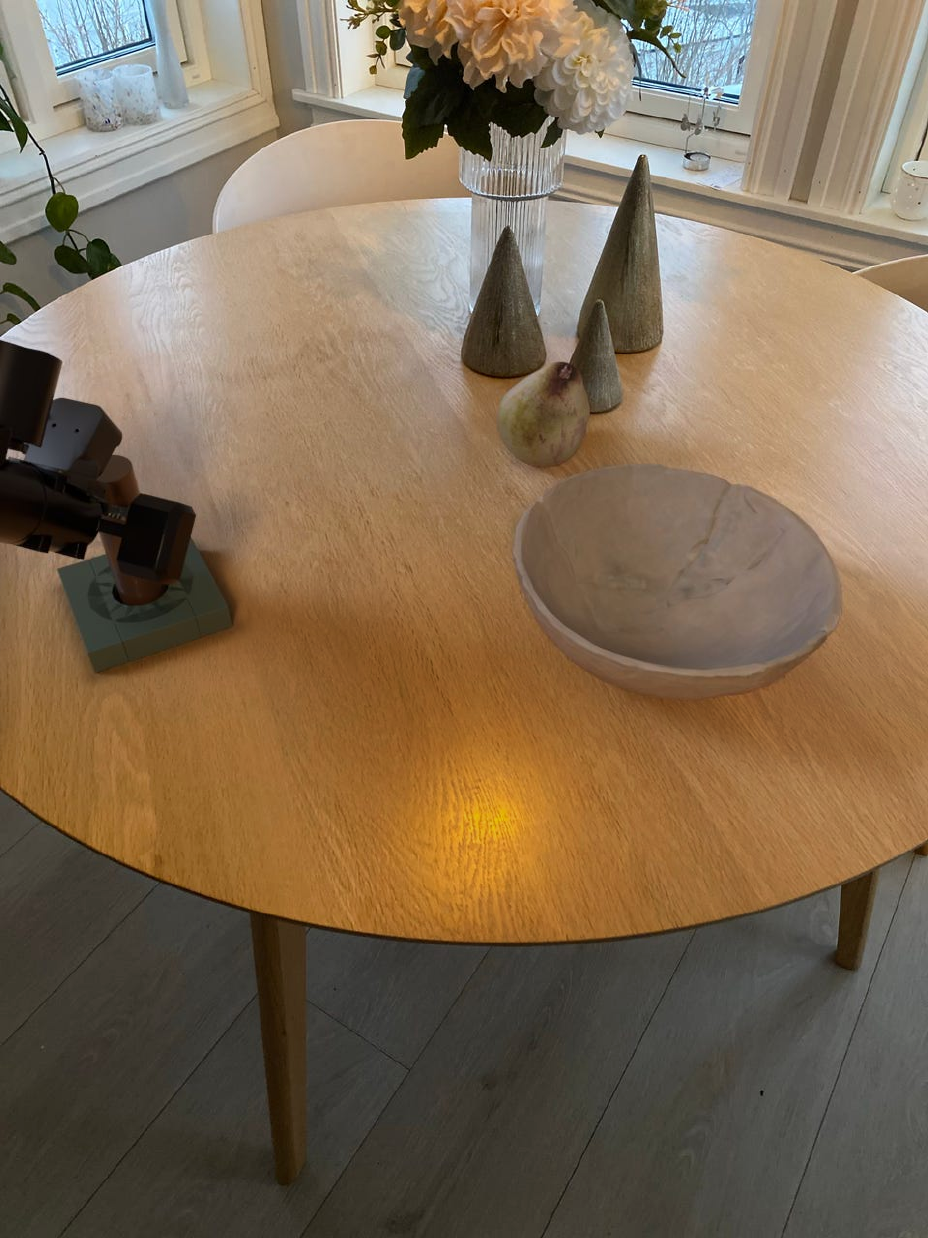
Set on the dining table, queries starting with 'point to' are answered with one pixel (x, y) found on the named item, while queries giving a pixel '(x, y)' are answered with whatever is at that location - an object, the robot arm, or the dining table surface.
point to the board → (141, 611)
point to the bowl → (675, 581)
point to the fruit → (545, 415)
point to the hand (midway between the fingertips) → (137, 533)
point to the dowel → (120, 494)
